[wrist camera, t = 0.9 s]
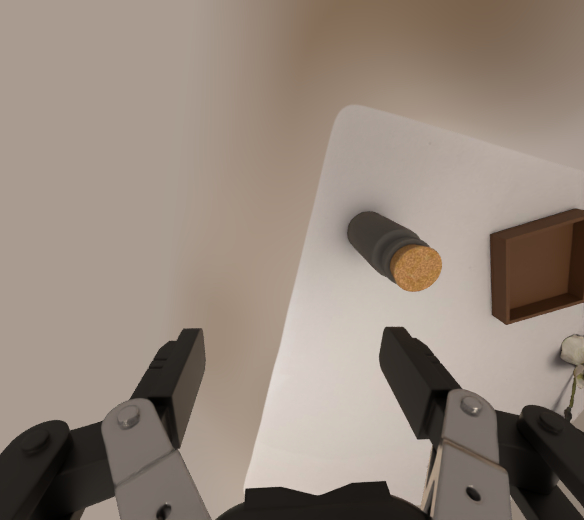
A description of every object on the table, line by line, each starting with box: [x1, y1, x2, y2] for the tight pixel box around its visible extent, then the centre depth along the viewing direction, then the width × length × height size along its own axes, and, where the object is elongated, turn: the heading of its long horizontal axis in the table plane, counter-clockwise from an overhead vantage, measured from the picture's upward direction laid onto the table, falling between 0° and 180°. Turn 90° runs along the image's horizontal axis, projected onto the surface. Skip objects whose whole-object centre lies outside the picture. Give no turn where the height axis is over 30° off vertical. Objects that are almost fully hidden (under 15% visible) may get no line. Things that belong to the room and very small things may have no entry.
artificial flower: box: [561, 335, 584, 435], centre depth 51 cm, size 9×22×10 cm, turn 179°
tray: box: [490, 209, 584, 325], centre depth 43 cm, size 15×13×3 cm
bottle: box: [347, 212, 442, 292], centre depth 33 cm, size 6×6×15 cm
